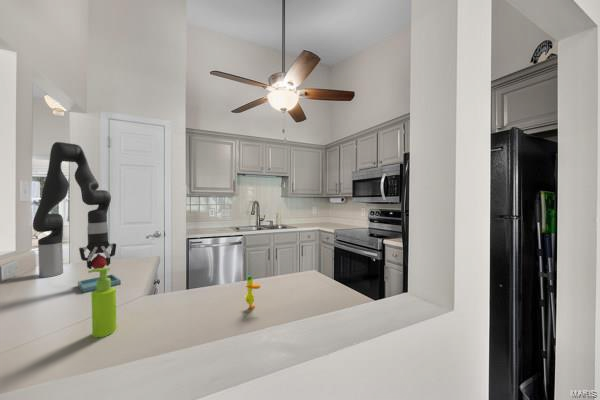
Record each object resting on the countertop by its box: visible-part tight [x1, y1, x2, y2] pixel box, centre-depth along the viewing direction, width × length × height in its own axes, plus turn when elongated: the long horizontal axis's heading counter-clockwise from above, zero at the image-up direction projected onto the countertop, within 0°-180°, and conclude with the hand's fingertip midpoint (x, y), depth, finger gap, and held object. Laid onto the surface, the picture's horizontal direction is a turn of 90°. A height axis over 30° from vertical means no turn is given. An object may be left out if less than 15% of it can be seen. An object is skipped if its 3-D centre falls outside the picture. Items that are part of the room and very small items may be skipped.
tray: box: [77, 273, 122, 294], centre depth 117 cm, size 14×14×2 cm
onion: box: [91, 253, 107, 269], centre depth 117 cm, size 6×6×8 cm
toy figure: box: [243, 275, 261, 310], centre depth 92 cm, size 7×4×12 cm, turn 77°
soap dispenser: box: [87, 267, 118, 339], centre depth 76 cm, size 6×7×20 cm
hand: (98, 266), depth 117 cm, fingers closed on onion, 6 cm apart
